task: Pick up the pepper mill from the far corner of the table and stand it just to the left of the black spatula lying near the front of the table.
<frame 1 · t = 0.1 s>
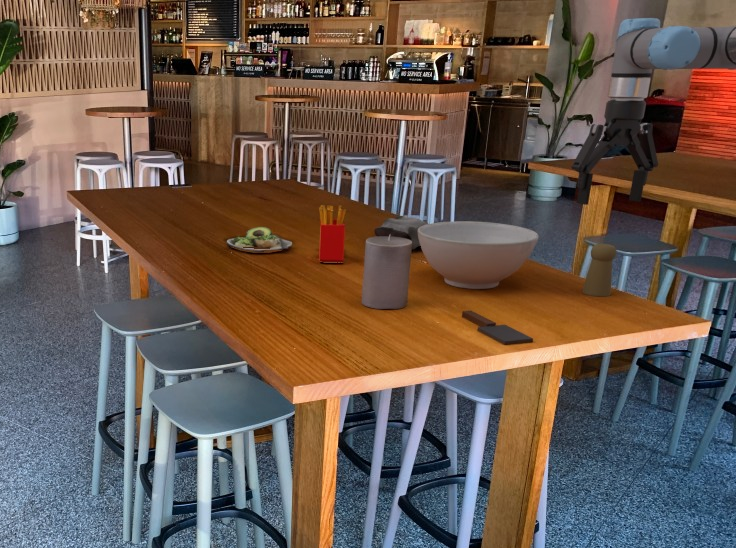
hand: (608, 202, 173), 20 cm above the table, tool pointing down, fingers open, 13 cm apart
decorative bowl: (471, 283, 187), on the table
rock: (401, 247, 225), on the table
salad plate: (259, 248, 225), on the table
pepper mill: (596, 293, 178), on the table
spatula: (490, 329, 154), on the table
french fries container: (330, 261, 209), on the table
pillar candle: (383, 304, 171), on the table
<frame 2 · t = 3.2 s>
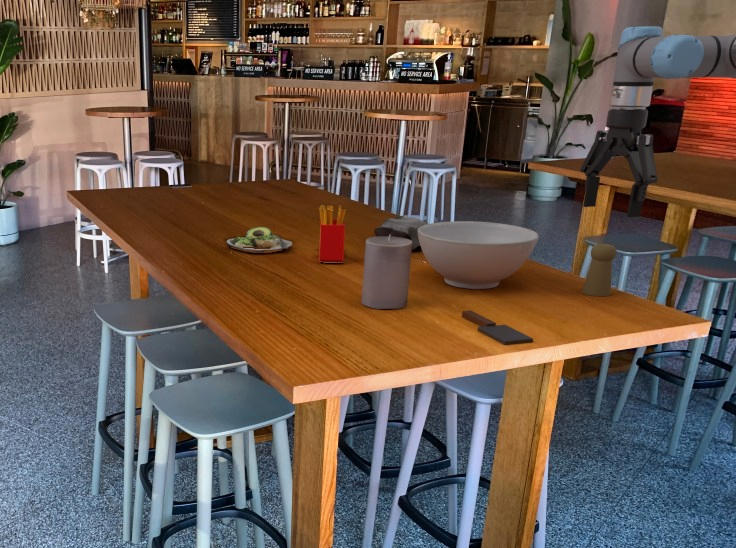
hand: (610, 211, 172), 18 cm above the table, tool pointing down, fingers open, 13 cm apart
nothing on the table moved.
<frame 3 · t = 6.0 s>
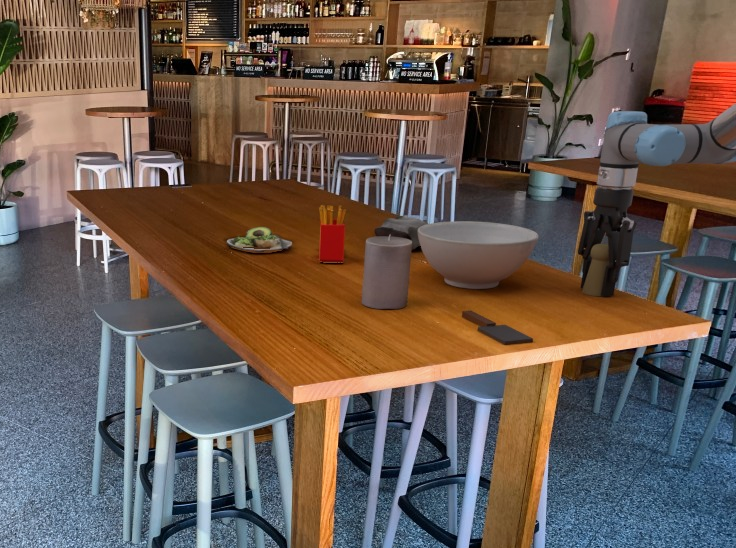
hand: (596, 291, 178), 0 cm above the table, tool pointing down, fingers closed on pepper mill, 6 cm apart
pepper mill: (596, 293, 178), on the table, touching gripper
everything else where it was.
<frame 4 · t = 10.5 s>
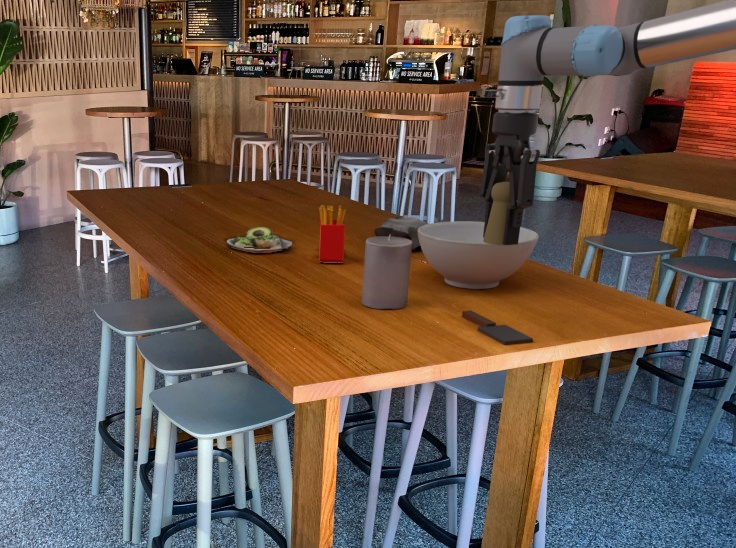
hand: (500, 240, 149), 17 cm above the table, tool pointing down, fingers closed on pepper mill, 6 cm apart
pepper mill: (499, 243, 149), point 16 cm above the table, touching gripper
everything else where it was.
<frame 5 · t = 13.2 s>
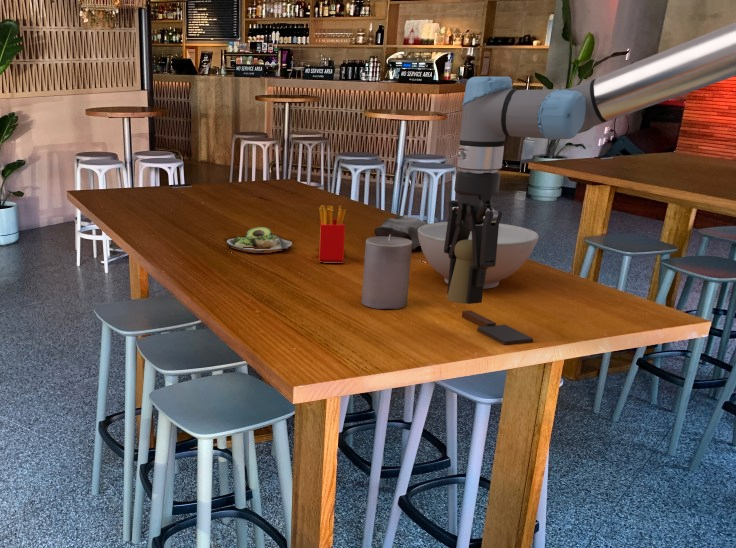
hand: (463, 297, 147), 7 cm above the table, tool pointing down, fingers closed on pepper mill, 6 cm apart
pepper mill: (463, 300, 147), point 7 cm above the table, touching gripper
everything else where it was.
when the fingers open (0 cm above the table, at t = 15.2 s): pepper mill stays where it is, on the table.
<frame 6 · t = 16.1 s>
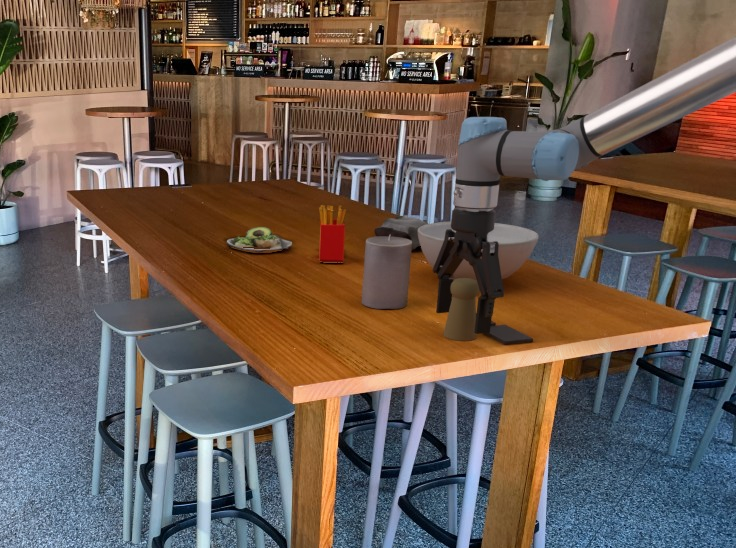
hand: (461, 322, 149), 3 cm above the table, tool pointing down, fingers open, 13 cm apart
pepper mill: (459, 336, 150), on the table
everything else where it was.
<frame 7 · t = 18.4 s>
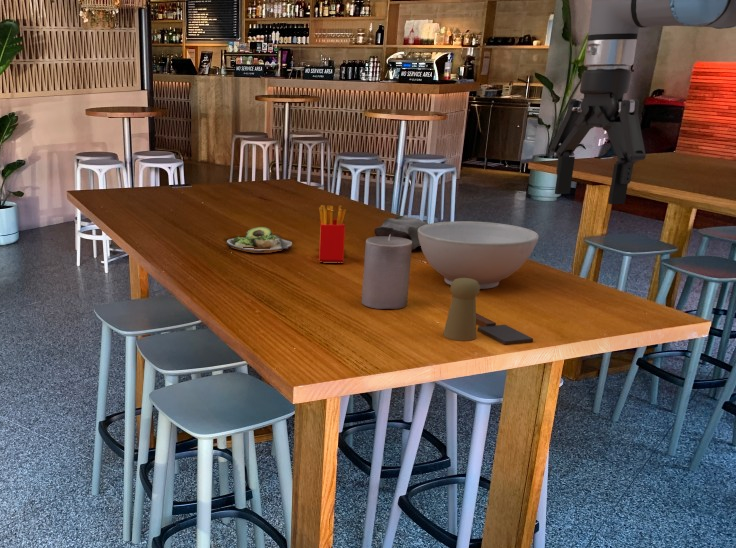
hand: (588, 198, 139), 26 cm above the table, tool pointing down, fingers open, 13 cm apart
nothing on the table moved.
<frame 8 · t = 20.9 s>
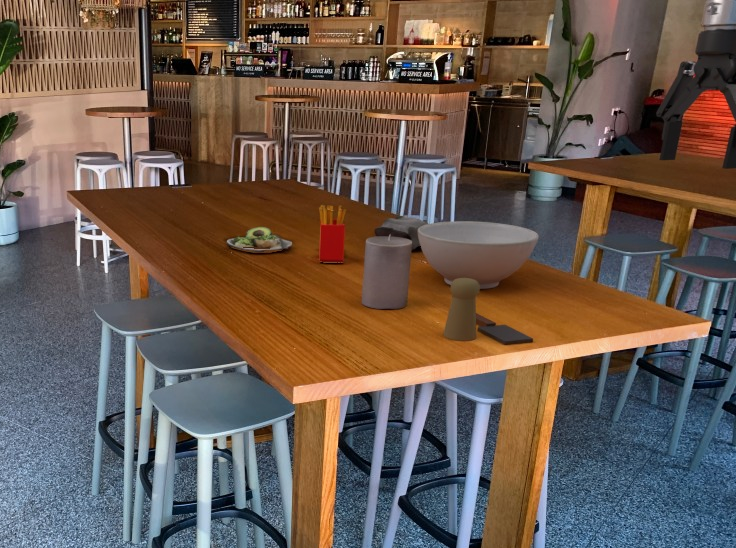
hand: (697, 164, 136), 32 cm above the table, tool pointing down, fingers open, 13 cm apart
nothing on the table moved.
at the end: pepper mill inside the target area on the table beside the spatula (1.4 cm from its centre), on the table; pepper mill tilted 0°; the gripper is holding nothing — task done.
